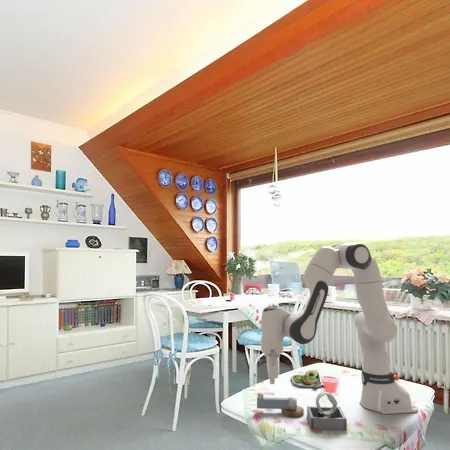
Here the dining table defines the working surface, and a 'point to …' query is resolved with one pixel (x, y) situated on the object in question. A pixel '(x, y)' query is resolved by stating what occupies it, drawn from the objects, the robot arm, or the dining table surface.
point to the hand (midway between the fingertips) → (272, 382)
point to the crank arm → (276, 403)
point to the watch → (329, 412)
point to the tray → (326, 419)
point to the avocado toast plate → (307, 379)
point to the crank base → (293, 412)
